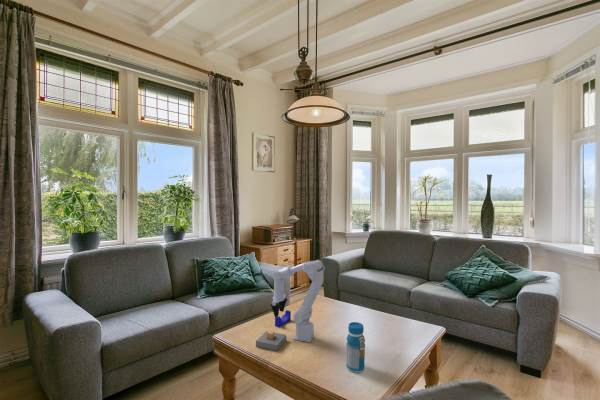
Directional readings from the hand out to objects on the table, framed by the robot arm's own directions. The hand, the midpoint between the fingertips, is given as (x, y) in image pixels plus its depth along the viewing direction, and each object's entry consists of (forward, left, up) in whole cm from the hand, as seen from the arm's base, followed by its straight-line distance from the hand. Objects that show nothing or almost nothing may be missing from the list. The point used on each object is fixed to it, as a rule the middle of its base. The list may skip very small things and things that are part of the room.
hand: (279, 313), depth 180 cm
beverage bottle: (-49, +22, -10) cm, 54 cm away
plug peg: (-2, +16, -9) cm, 19 cm away
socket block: (-3, +16, -9) cm, 19 cm away
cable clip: (+2, -9, -10) cm, 14 cm away
